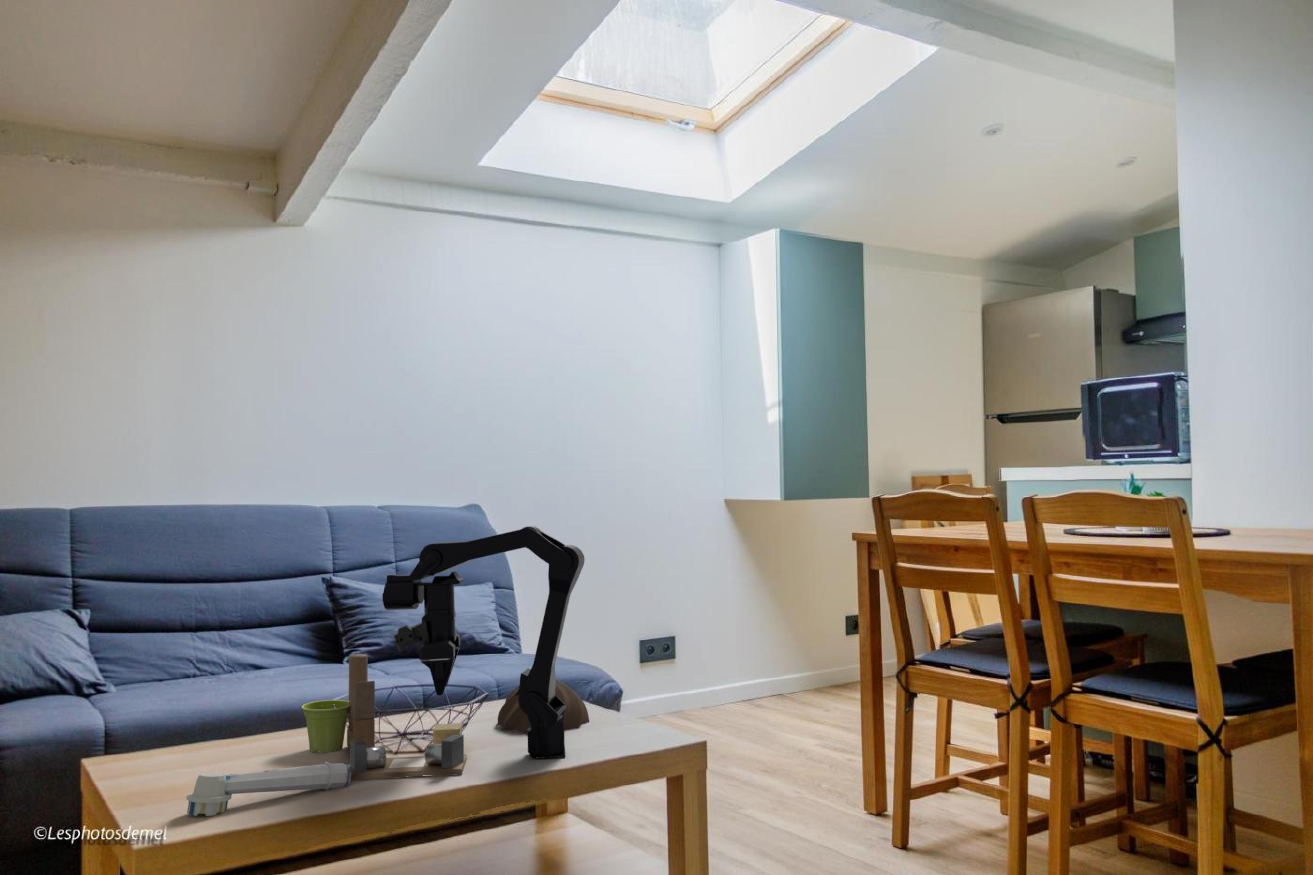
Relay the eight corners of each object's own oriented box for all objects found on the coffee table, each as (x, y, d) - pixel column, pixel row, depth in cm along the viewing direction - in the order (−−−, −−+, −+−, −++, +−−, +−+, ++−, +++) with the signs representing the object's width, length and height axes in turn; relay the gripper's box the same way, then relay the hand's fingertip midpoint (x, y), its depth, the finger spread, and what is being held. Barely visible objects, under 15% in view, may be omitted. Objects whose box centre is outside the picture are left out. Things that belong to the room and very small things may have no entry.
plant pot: (344, 741, 195) (345, 697, 195) (357, 750, 187) (357, 705, 187) (296, 748, 190) (296, 703, 190) (307, 758, 182) (307, 711, 182)
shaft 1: (381, 763, 173) (381, 736, 174) (386, 769, 169) (386, 741, 169) (350, 767, 171) (350, 740, 171) (354, 774, 167) (354, 745, 167)
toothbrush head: (354, 764, 163) (196, 772, 147) (348, 806, 161) (189, 817, 146) (342, 758, 167) (187, 765, 151) (336, 799, 166) (180, 809, 150)
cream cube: (462, 749, 187) (462, 723, 187) (460, 755, 182) (459, 728, 182) (436, 750, 186) (436, 724, 187) (433, 757, 181) (433, 730, 182)
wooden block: (355, 759, 180) (355, 662, 182) (346, 746, 190) (346, 654, 191) (375, 756, 182) (375, 660, 183) (365, 744, 192) (365, 652, 193)
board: (466, 759, 179) (466, 753, 179) (461, 774, 169) (461, 768, 169) (355, 764, 176) (355, 759, 176) (344, 780, 166) (344, 774, 166)
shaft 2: (423, 767, 170) (423, 740, 170) (435, 760, 174) (435, 733, 175) (452, 769, 168) (451, 741, 169) (463, 762, 173) (463, 734, 173)
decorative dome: (543, 739, 194) (543, 688, 195) (478, 726, 207) (478, 679, 207) (607, 721, 209) (606, 674, 210) (542, 710, 222) (542, 666, 222)
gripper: (402, 606, 193) (404, 685, 192) (389, 616, 175) (391, 703, 174) (459, 602, 195) (461, 681, 194) (452, 612, 176) (454, 699, 175)
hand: (441, 690), depth 184 cm, fingers open, 9 cm apart
